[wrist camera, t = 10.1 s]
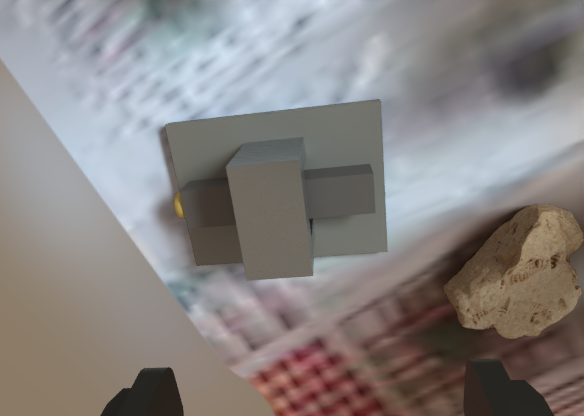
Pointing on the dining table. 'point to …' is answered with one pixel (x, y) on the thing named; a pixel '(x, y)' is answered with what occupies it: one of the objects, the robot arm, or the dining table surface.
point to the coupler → (317, 172)
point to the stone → (520, 275)
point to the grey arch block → (272, 209)
